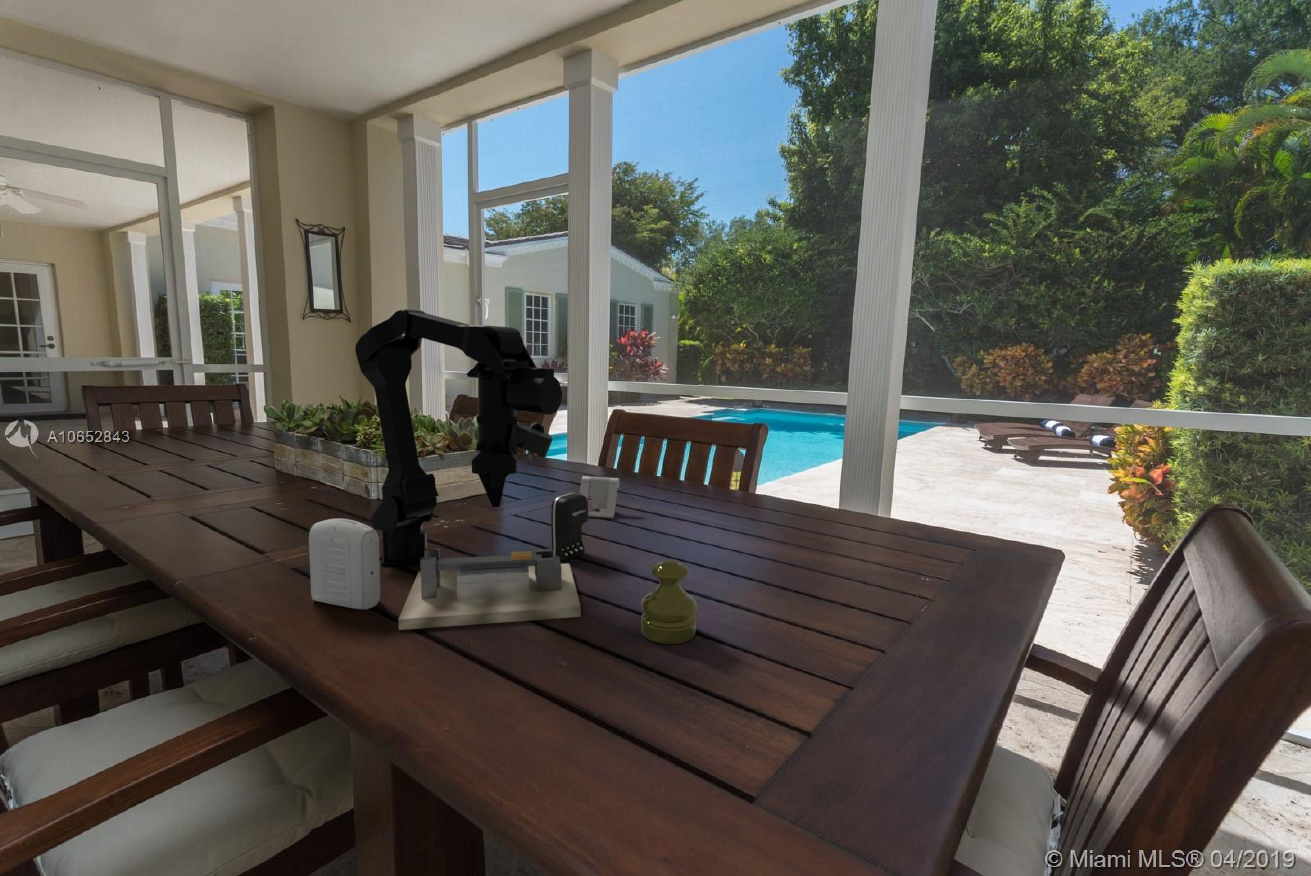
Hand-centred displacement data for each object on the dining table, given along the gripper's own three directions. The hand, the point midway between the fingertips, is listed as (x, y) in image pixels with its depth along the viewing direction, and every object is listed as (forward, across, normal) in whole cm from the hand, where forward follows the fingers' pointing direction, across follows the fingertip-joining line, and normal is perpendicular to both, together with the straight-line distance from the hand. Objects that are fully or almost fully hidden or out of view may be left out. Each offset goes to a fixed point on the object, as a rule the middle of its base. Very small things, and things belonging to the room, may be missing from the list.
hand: (495, 506), depth 97 cm
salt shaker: (+12, -22, -23) cm, 34 cm away
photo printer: (+13, -5, +21) cm, 25 cm away
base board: (+12, -7, 0) cm, 14 cm away
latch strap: (+9, -7, +1) cm, 11 cm away
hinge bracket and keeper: (+11, -7, 0) cm, 13 cm away
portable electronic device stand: (+13, +40, -22) cm, 47 cm away
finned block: (+11, -7, 0) cm, 13 cm away
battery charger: (+13, +11, -13) cm, 21 cm away
